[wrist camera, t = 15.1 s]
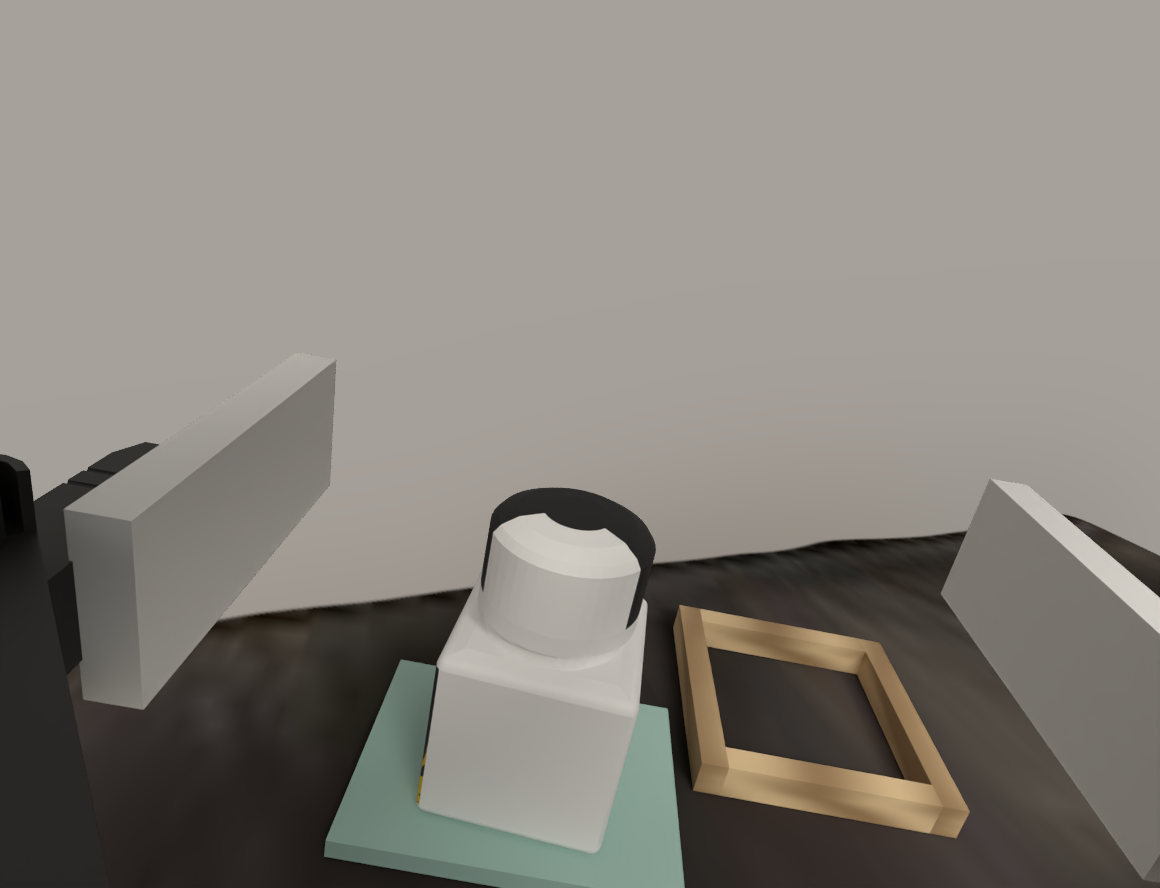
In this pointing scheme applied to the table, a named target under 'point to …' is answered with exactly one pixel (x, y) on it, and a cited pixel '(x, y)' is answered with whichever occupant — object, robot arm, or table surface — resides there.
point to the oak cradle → (803, 785)
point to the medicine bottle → (542, 672)
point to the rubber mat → (491, 857)
